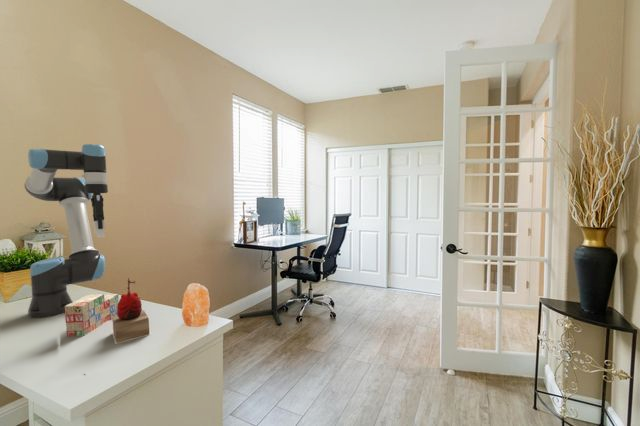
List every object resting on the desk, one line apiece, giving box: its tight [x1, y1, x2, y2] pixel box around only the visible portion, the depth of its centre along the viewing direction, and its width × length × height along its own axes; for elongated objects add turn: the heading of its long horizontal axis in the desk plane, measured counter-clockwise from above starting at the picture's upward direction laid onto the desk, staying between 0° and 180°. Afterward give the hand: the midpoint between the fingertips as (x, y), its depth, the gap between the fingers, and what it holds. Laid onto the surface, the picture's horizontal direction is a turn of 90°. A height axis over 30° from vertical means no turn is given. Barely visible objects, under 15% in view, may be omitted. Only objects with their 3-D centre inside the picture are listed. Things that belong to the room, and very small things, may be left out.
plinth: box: [112, 309, 151, 344], centre depth 112 cm, size 10×10×6 cm
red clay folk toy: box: [117, 277, 143, 320], centre depth 112 cm, size 8×7×15 cm
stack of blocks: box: [64, 293, 120, 337], centre depth 122 cm, size 21×6×12 cm, turn 3°
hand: (99, 235), depth 127 cm, fingers open, 13 cm apart
